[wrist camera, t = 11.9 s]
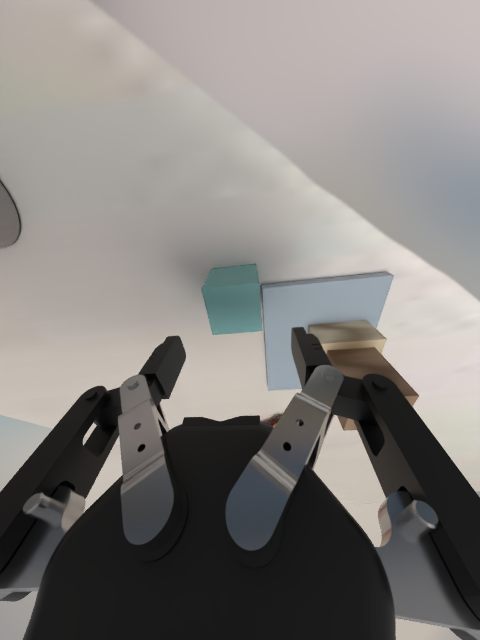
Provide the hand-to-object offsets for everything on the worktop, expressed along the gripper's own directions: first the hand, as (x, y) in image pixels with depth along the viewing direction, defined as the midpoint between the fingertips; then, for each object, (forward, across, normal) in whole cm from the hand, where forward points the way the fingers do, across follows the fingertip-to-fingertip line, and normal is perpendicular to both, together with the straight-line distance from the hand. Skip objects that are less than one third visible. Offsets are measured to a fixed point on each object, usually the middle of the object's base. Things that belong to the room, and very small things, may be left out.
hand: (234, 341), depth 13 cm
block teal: (+10, 0, 0) cm, 11 cm away
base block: (+10, -12, +9) cm, 17 cm away
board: (+11, -9, +9) cm, 17 cm away
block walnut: (+6, -12, +9) cm, 16 cm away
